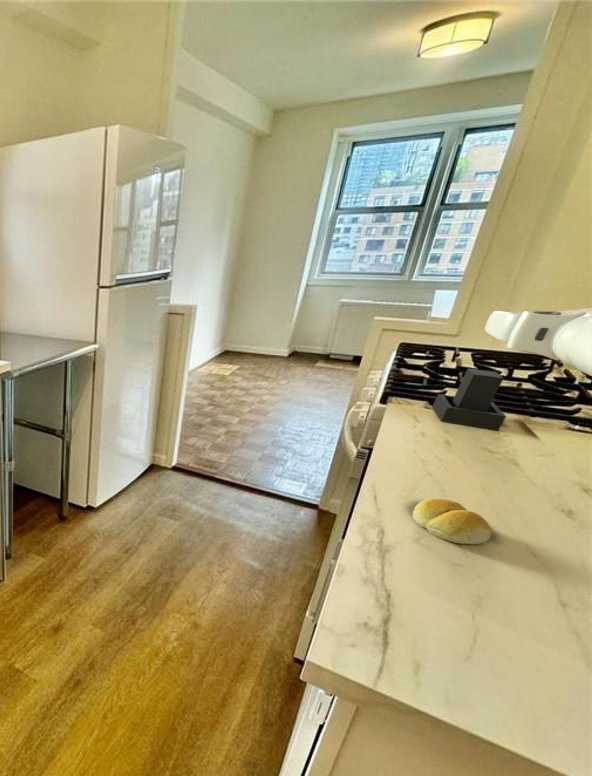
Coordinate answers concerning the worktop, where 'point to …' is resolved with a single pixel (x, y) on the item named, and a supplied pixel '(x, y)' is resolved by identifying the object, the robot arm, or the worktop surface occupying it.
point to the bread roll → (451, 521)
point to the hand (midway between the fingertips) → (545, 320)
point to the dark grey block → (477, 390)
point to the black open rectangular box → (468, 414)
